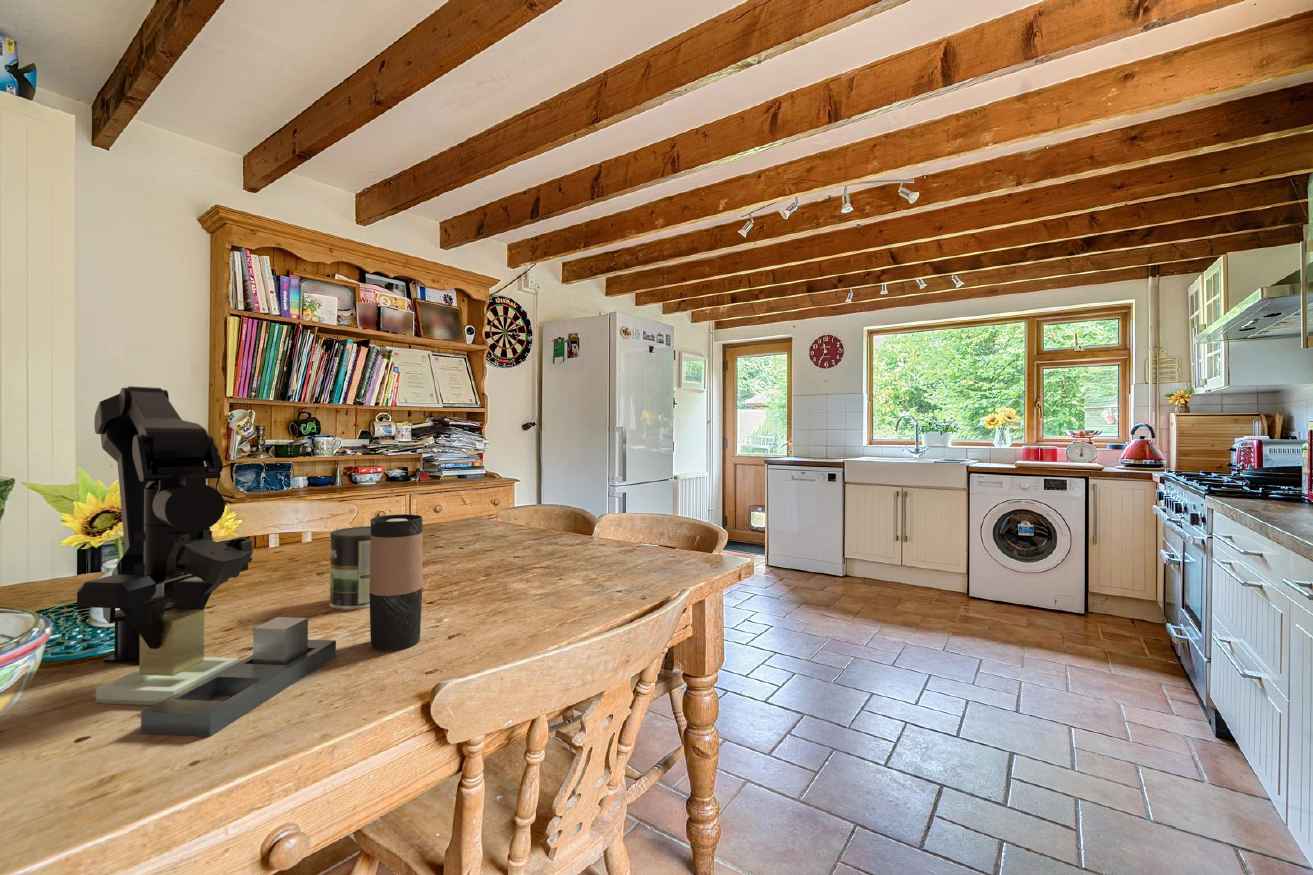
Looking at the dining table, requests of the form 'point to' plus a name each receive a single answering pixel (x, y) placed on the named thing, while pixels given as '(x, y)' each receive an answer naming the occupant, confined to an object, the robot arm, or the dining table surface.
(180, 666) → the beige wooden block
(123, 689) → the tray
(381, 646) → the travel mug
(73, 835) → the dining table surface
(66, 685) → the dining table surface
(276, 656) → the grey square block
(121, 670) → the dining table surface
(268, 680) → the rail
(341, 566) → the coffee can
